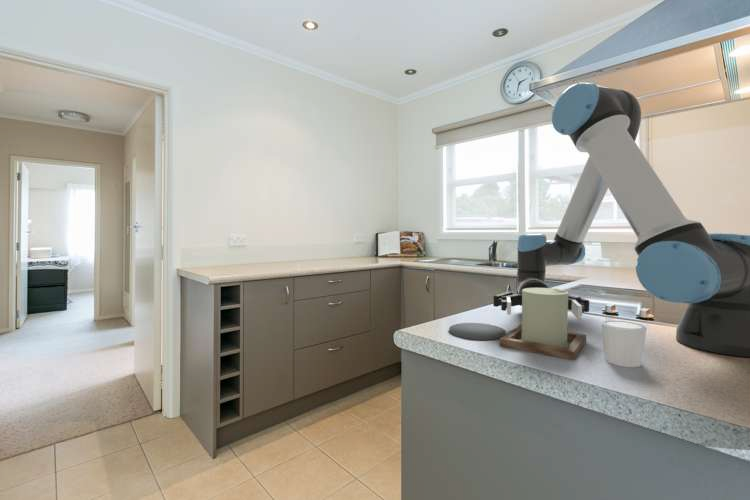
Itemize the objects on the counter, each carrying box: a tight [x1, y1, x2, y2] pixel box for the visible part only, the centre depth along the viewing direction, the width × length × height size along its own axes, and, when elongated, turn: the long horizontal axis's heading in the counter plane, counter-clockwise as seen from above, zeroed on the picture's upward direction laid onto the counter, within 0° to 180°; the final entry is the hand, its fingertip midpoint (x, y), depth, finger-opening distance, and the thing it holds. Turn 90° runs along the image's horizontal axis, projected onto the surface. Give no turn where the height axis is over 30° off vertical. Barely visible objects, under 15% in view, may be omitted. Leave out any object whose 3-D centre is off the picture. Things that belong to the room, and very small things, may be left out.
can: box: [520, 287, 570, 348], centre depth 79 cm, size 9×9×12 cm
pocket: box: [499, 324, 587, 361], centre depth 79 cm, size 14×14×2 cm
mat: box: [448, 322, 507, 341], centre depth 88 cm, size 13×13×1 cm
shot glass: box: [601, 320, 648, 368], centre depth 68 cm, size 7×7×7 cm
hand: (543, 310), depth 77 cm, fingers open, 13 cm apart
